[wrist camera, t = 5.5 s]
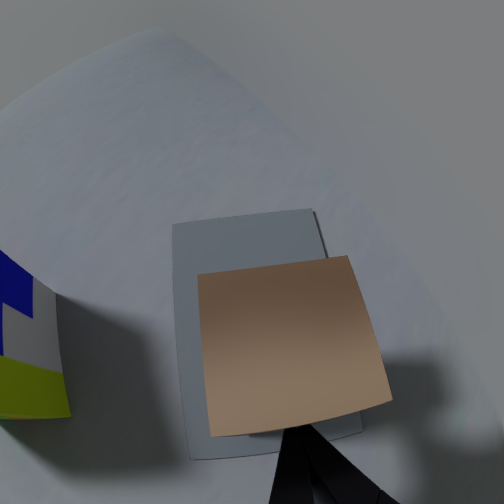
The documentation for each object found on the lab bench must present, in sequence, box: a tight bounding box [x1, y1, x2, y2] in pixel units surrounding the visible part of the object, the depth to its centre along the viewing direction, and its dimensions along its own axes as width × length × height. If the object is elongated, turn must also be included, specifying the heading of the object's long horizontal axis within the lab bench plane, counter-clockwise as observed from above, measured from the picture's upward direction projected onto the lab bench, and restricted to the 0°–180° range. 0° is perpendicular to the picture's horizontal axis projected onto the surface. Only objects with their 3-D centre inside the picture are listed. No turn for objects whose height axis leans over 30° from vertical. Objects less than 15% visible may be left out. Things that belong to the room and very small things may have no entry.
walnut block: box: [197, 255, 393, 437], centre depth 12 cm, size 4×4×11 cm
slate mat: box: [172, 208, 363, 460], centre depth 19 cm, size 17×11×1 cm, turn 8°
